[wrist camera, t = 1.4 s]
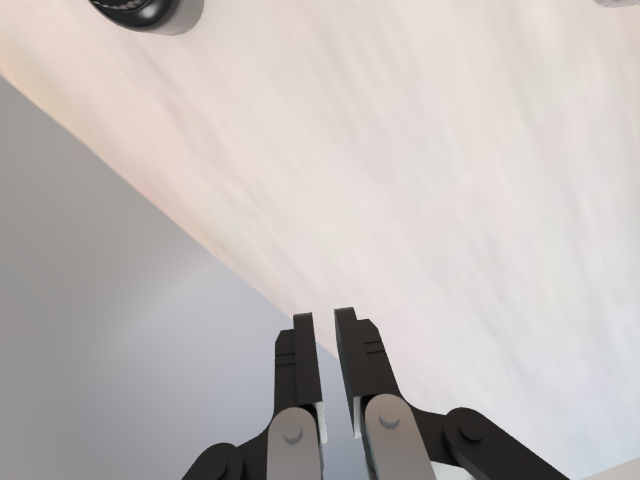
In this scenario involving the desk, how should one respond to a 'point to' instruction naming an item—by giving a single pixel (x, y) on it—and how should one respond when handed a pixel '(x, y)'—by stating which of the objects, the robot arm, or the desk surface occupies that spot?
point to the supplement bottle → (152, 14)
